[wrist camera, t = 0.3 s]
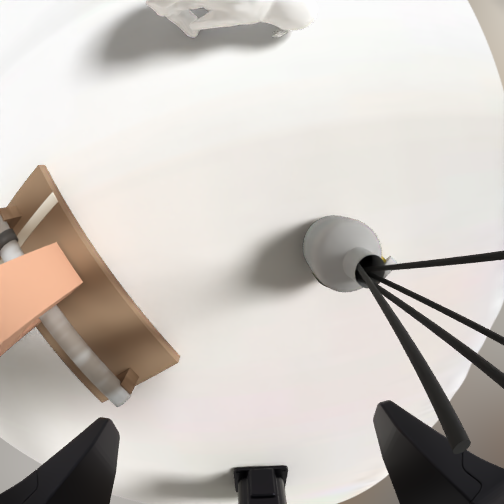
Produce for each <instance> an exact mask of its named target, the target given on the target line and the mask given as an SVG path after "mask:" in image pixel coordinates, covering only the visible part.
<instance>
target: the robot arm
mask: <svg viewBox="0 0 504 504" xmlns="http://www.w3.org/2000/svg"><path fill="white" fill-rule="evenodd" d="M373 422H374V427H375V430H376V434H377V438H378V442H379V446H380V450H381V454H382V457H383V460H384V463H385V466H386V468H387V471H388V473H389V476H390V479H391V481H392V484H393V486H394V489H395V491H396V494H397V497H398V500H399V503H400V504H504V469H503V468H501V467H498V466H496V465H494V464H492V463H489V462H487V461H485V460H483V459H481V458H479V457H477V456H476V455H474V454H472V453H470V452H469V451H467V450H465V451H464V452H462V453H460V454H454V453H453V451H452V449H451V446H450V444H449V442H448V439H447V438H446V437H445V436H443V435H442V434H440V433H439V432H437V431H436V430H434V429H432V428H431V427H429V426H428V425H426V424H425V423H423V422H422V421H420V420H419V419H417V418H416V417H414V416H413V415H411V414H410V413H408V412H407V411H405V410H404V409H402V408H401V407H400V406H398V405H397V404H395V403H394V402H392V401H390V400H387V401H383V402H380V403H379V404H378V405H377V408H376V411H375V414H374V418H373ZM119 440H120V435H119V432H118V430H117V429H116V427H115V425H114V423H113V422H112V420H111V419H109V418H103V417H100V418H98V419H97V420H96V421H94V422H93V423H92V424H91V425H90V426H89V427H87V428H86V429H85V430H84V431H83V432H81V433H80V434H79V435H78V436H77V437H75V438H74V439H73V440H72V441H71V442H69V443H68V444H67V445H66V446H65V447H63V448H62V449H61V450H60V451H59V452H57V453H56V454H55V455H54V456H53V457H51V458H50V459H49V460H48V461H46V462H45V463H44V464H43V465H41V466H40V467H39V468H38V469H37V470H35V471H34V472H33V473H31V474H30V475H29V476H27V477H26V478H25V479H23V480H22V481H21V482H19V483H18V484H16V485H14V486H13V487H11V488H10V489H8V490H6V491H5V492H3V493H1V494H0V504H109V503H110V498H111V493H112V488H113V484H114V479H115V474H116V467H117V457H118V448H119ZM287 473H288V467H287V466H277V467H260V468H235V469H234V478H235V488H236V492H238V504H287V502H286V495H285V484H286V478H287Z"/></svg>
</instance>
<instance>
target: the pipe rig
mask: <svg viewBox="0 0 504 504" xmlns="http://www.w3.org/2000/svg"><path fill="white" fill-rule="evenodd" d="M55 242H57V243H58V245H59V247H60V248H61V250H62V251H63V253H64V255H65V256H66V258H67V259H68V261H69V262H70V264H71V265H72V267H73V268H74V270H75V271H76V273H77V274H78V275H79V277H80V278H81V280H82V281H83V283H82V284H81V285H80V286H79V287H77V288H76V289H75V290H74V291H73V292H72V293H71V294H70V295H69V296H67V297H66V298H64V299H63V300H62V301H60V302H59V303H58V304H56V305H55V306H54V307H52V308H51V309H50V310H48V311H47V312H46V313H44V314H43V315H42V316H40V317H39V319H40V320H41V323H39V324H38V325H37V326H36V327H37V329H38V330H39V331H40V333H41V334H42V335H43V337H44V338H45V339H46V341H47V342H48V343H49V344H50V346H51V347H52V348H53V349H54V351H55V352H56V353H57V354H58V356H59V357H60V358H61V359H62V360H63V362H64V363H65V364H66V365H67V366H68V367H69V369H70V370H71V371H72V372H73V373H74V374H75V375H76V376H77V377H78V379H79V380H80V381H81V382H82V383H83V384H84V385H85V386H86V387H87V388H88V389H89V390H90V391H91V392H92V393H93V394H94V395H95V396H96V397H97V398H98V399H99V400H100V401H101V402H102V403H103V402H105V401H107V400H110V401H111V402H112V403H113V404H114V405H115V406H116V407H119V406H121V405H123V404H124V403H125V402H126V401H127V400H128V399H129V397H130V395H131V393H132V391H133V389H134V387H135V386H136V385H138V384H140V383H142V382H144V381H145V380H147V379H149V378H151V377H153V376H155V375H157V374H158V373H160V372H162V371H164V370H166V369H168V368H169V367H171V366H173V365H175V364H177V363H178V361H179V358H180V356H179V355H178V353H177V352H176V351H175V350H174V349H173V348H172V347H171V346H170V345H169V343H168V342H167V341H166V340H165V339H164V338H163V337H162V335H161V334H160V333H159V332H158V331H157V330H156V328H155V327H154V326H153V325H152V324H151V323H150V321H149V320H148V319H147V318H146V316H145V315H144V314H143V313H142V312H141V310H140V309H139V308H138V307H137V305H136V304H135V303H134V302H133V300H132V299H131V298H130V296H129V295H128V294H127V292H126V291H125V290H124V289H123V287H122V286H121V285H120V283H119V282H118V281H117V279H116V278H115V276H114V275H113V274H112V272H111V271H110V270H109V268H108V267H107V265H106V264H105V263H104V261H103V260H102V258H101V257H100V255H99V254H98V253H97V251H96V250H95V248H94V247H93V245H92V244H91V242H90V241H89V239H88V238H87V236H86V235H85V233H84V231H83V230H82V228H81V227H80V225H79V224H78V222H77V220H76V219H75V217H74V215H73V214H72V212H71V211H70V209H69V207H68V206H67V204H66V202H65V200H64V199H63V197H62V195H61V194H60V192H59V190H58V188H57V186H56V185H55V183H54V181H53V179H52V177H51V175H50V174H49V172H48V170H47V168H46V166H45V165H38V166H37V168H36V169H35V170H34V171H33V172H32V174H31V175H30V176H29V177H28V179H27V180H26V181H25V183H24V184H23V185H22V187H21V188H20V189H19V191H18V192H17V193H16V195H15V196H14V197H13V199H12V200H11V202H10V203H9V205H8V206H7V207H6V208H0V265H1V264H3V263H5V262H8V261H10V260H12V259H15V258H17V257H20V256H22V255H24V254H27V253H29V252H32V251H34V250H37V249H40V248H42V247H45V246H47V245H50V244H53V243H55Z"/></svg>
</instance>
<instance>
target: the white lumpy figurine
mask: <svg viewBox="0 0 504 504" xmlns="http://www.w3.org/2000/svg"><path fill="white" fill-rule="evenodd" d="M146 5H147V6H149V7H150V8H152V9H153V10H154V11H155V12H156V13H157V14H158V15H159V16H166V18H167V19H169V20H170V21H171V22H172V23H174V24H176V25H177V26H178V27H179V28H180V29H181V30H182V31H183V32H184V33H185V34H186V35H187V36H189V37H192V38H194V37H196V36H197V35H198V34H199V30H201V29H211V28H219V27H230V26H236V25H240V24H255V23H258V22H263V23H269V24H272V25H275V26H276V27H279V28H280V29H281V30H282V31H277V32H279V33H277V34H275V35H273V36H274V37H275V36H277V37H278V36H279V37H280V36H282V35H284V34H285V33H287V32H288V31H290V30H302V29H304V28H307V27H309V26H310V25H311V24H312V23H313V21H314V20H315V18H316V16H317V5H316V3H315V1H314V0H147V1H146ZM198 8H205V9H206V10H208V13H207V14H205V15H204V16H202V17H200V18H199V19H198V18H197V17H196V15H195V14H193V13H192V12H191V11H190V9H192V10H194V9H198ZM272 33H273V32H272Z"/></svg>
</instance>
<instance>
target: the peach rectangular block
mask: <svg viewBox="0 0 504 504" xmlns="http://www.w3.org/2000/svg"><path fill="white" fill-rule="evenodd" d="M82 283H83V281H82V280H81V278H80V277H79V275H78V274H77V273H76V271H75V270H74V268H73V267H72V265H71V264H70V262H69V261H68V259H67V258H66V256H65V255H64V253H63V251H62V250H61V248H60V247H59V245H58V243H57V242H55V243H53V244H50V245H47V246H45V247H42V248H40V249H37V250H34V251H32V252H29V253H27V254H24V255H22V256H20V257H17V258H15V259H12V260H10V261H8V262H5V263H3V264H1V265H0V356H1V355H2V354H3V353H5V352H6V351H7V350H8V349H9V348H10V347H12V346H13V345H14V344H15V343H16V342H17V341H19V340H20V339H21V338H22V337H23V336H25V335H26V334H27V333H28V332H30V331H31V330H32V329H33V328H34V327H36V326H37V325H38V324H39V323H41V320H40V319H39V317H40V316H42V315H43V314H44V313H46V312H47V311H48V310H50V309H51V308H52V307H54V306H55V305H56V304H58V303H59V302H60V301H62V300H63V299H64V298H66V297H67V296H69V295H70V294H71V293H72V292H73V291H74V290H75V289H76V288H77V287H79V286H80V285H81V284H82Z"/></svg>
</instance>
